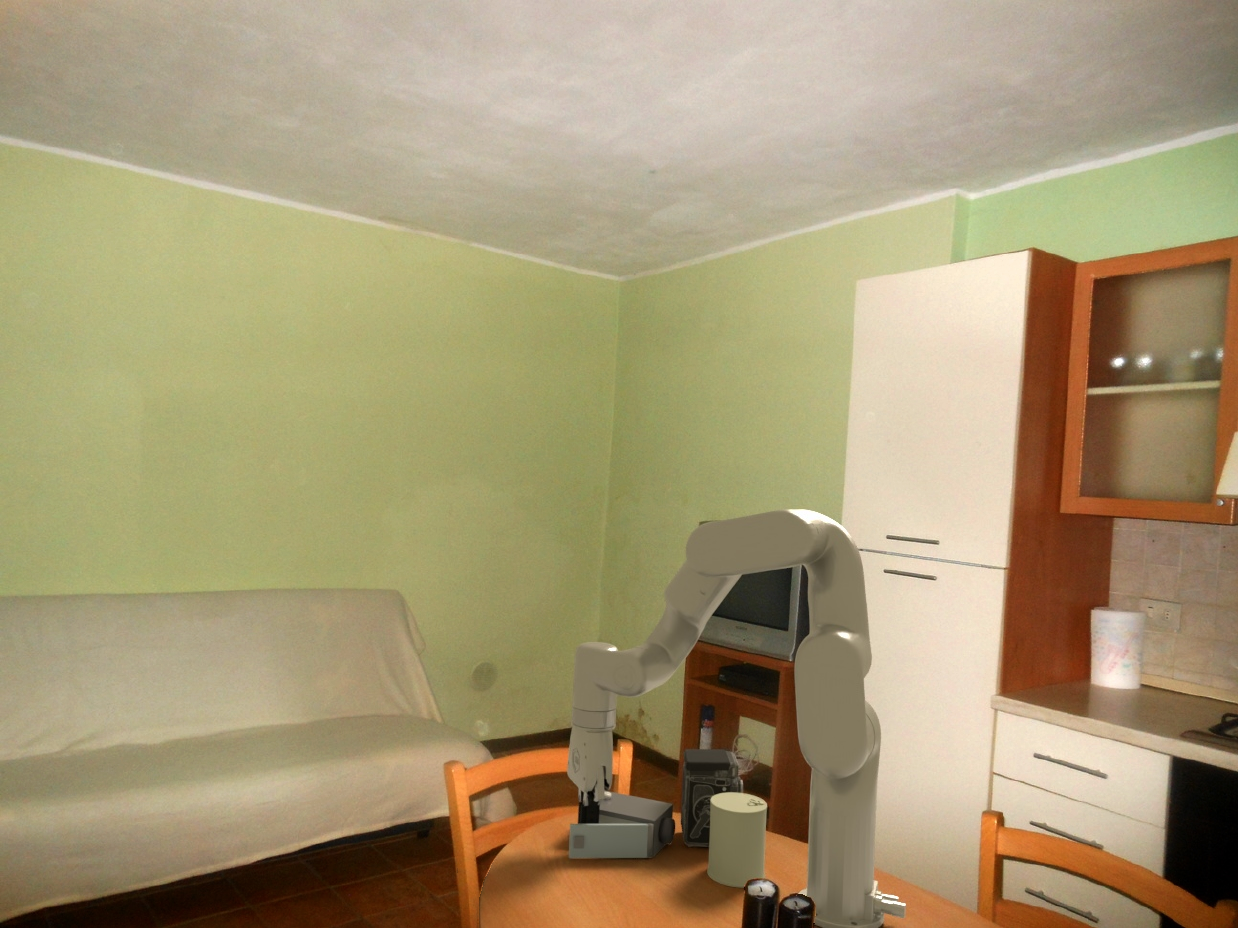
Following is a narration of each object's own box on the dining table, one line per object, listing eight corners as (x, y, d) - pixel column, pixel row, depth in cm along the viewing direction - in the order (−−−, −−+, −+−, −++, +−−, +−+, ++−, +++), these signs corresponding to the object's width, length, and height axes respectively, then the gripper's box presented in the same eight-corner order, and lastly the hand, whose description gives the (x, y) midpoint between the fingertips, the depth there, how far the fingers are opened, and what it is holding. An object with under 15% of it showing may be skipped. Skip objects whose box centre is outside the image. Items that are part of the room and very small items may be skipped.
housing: (680, 840, 149) (681, 800, 149) (662, 859, 140) (663, 817, 141) (599, 822, 155) (601, 785, 155) (577, 840, 146) (579, 800, 147)
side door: (651, 855, 141) (653, 822, 141) (653, 859, 140) (654, 826, 140) (568, 855, 140) (570, 823, 140) (569, 859, 138) (570, 826, 138)
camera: (745, 854, 144) (748, 765, 144) (683, 851, 144) (686, 762, 145) (737, 830, 154) (740, 747, 155) (679, 827, 154) (683, 744, 155)
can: (769, 888, 131) (772, 810, 132) (710, 886, 131) (713, 808, 132) (759, 863, 141) (762, 790, 141) (704, 861, 141) (706, 787, 141)
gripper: (559, 706, 149) (553, 812, 148) (587, 730, 135) (581, 847, 134) (599, 705, 151) (593, 808, 151) (631, 728, 138) (625, 842, 137)
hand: (588, 826), depth 143 cm, fingers closed
